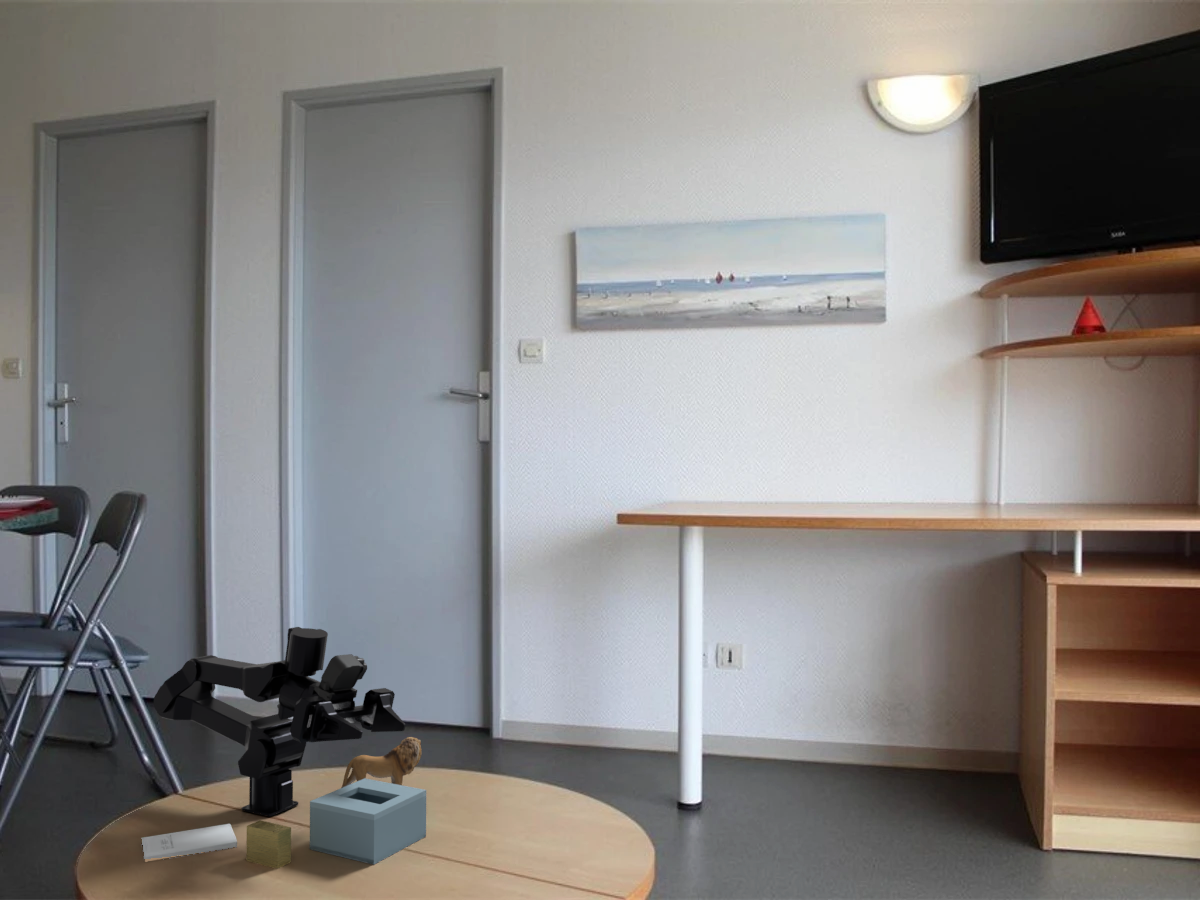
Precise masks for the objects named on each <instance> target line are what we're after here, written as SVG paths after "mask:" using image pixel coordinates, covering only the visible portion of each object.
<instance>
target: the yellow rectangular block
mask: <svg viewBox="0 0 1200 900" xmlns="http://www.w3.org/2000/svg"><path fill="white" fill-rule="evenodd" d="M245 847H246V848H245V849H246V850H245V851H246V853H245V854H246V859H245V860H246V861H247V862H249V863H254V864H258V865H260V866H261V865H262V866H265V867H270V868H272V869H281V868H282V867H284V866H286V865H288V864H290V863H292V827H291V826H287V825H283V824H278V823H274V822H270V821H265V820H257V821H255V822H253V823H251V824H248V825H246V846H245Z"/></svg>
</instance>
